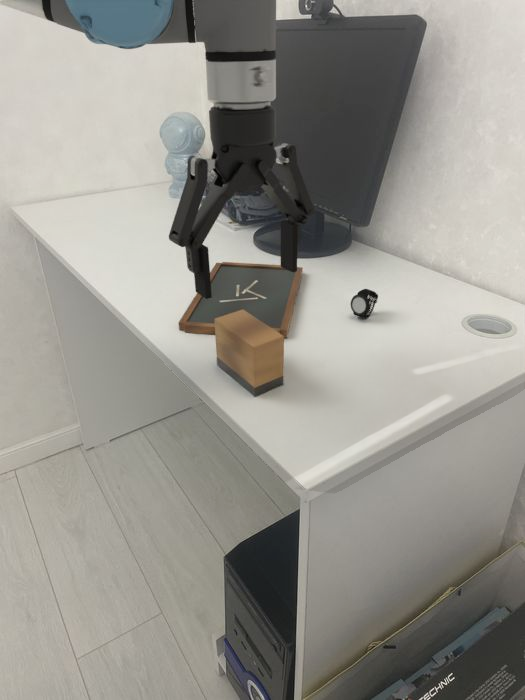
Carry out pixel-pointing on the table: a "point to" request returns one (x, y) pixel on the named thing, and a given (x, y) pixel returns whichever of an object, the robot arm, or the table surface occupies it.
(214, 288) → the slate board
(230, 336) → the eraser
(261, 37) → the robot arm
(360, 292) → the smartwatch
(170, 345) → the table surface
